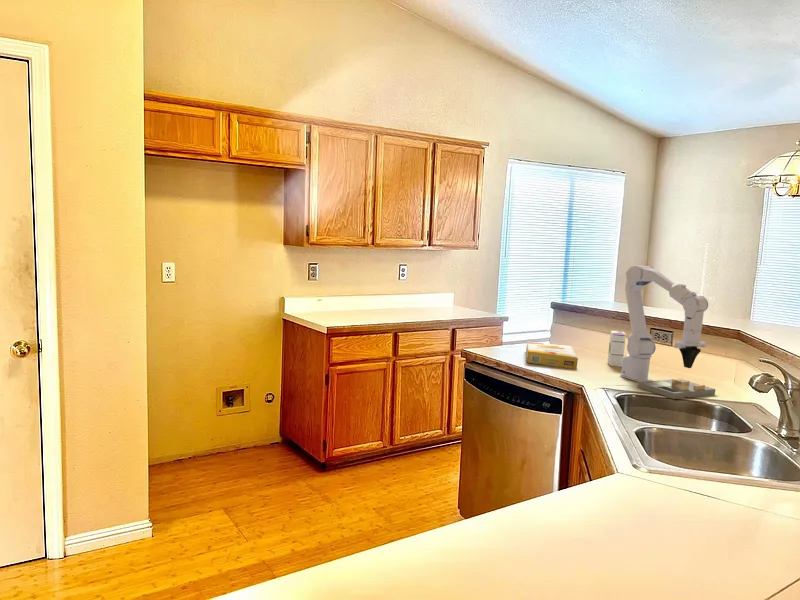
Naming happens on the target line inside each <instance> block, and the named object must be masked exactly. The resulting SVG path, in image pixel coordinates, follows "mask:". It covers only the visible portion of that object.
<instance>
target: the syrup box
mask: <svg viewBox="0 0 800 600" xmlns="http://www.w3.org/2000/svg"><path fill="white" fill-rule="evenodd" d="M626 334H627V333H625V332H624V331H622V330H610V333H609V343H608V352H607V353H608V354H607V364H608V365H609V366H610V367H618V368H622V363H623V359H624V357H625V348H626V339H627V337H626V336H627V335H626Z"/></svg>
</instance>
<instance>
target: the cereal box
mask: <svg viewBox="0 0 800 600" xmlns="http://www.w3.org/2000/svg"><path fill="white" fill-rule="evenodd" d="M525 350H526V351H525V355H526V362H527V363H529V364H536V365H540V366H541V365H542V366H548V367H549V366H550V367H555V368H556V367H557V368H563V367H564V368H566V369H572V368H573V369H575V370H576V369H577V368H578V359H579V357H578V356H577V354H576V353H575V351H574V350H575V349H573V347H572V346H571V345H570V346H569V345H560V344H554V343H543V342H542V343H541V342H535V341H534V342H532V341H527V342H526V349H525ZM564 368H563V369H564ZM573 369H572V370H573Z"/></svg>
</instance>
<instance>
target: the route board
mask: <svg viewBox="0 0 800 600" xmlns="http://www.w3.org/2000/svg"><path fill="white" fill-rule="evenodd" d="M672 379H673V378H672ZM672 379H671V378H669V379H660V380H653V381H645V382H637V383H638V384H637V388H638V389H641V388H642V389H641V390H644V389H645V390H644V391H647V390H648V391H647V392H650V391H651V392H650V393H653V392H654V393H653V394H656V393H658V394H657V395H660V394H661V396H663V395H664V396H663V397H666V398H670V399H672V400H678V399H686V398H685V397H688V398H695V397H696V396H697V397H703V396H704V397H705V395H706V396H713V395H714V394H715V395H716V388H713V387H709V386H706V385H705V384H698V383H694V382H692V381H690V382H689V390H679V389H675V388H672V387H671V385H672ZM687 381H689V380H688V379H687Z"/></svg>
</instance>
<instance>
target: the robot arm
mask: <svg viewBox="0 0 800 600" xmlns="http://www.w3.org/2000/svg"><path fill="white" fill-rule="evenodd" d="M625 276H626V280H625V289H624V290H625V297H626V302H627V310H628V317H629V324H630V330H631V333H630V334H629V335H628V337H627V345H626V351H627V354H626V355H624V359H623V363H622V367H621V374H619V377H621V378H625V379H628V380H631V381H634V382H637V383H638V382H647V381H654V380H653V379H652V378H649V372H650V364H651V363H650V362H651V358H652V355H654V353H655V352H656V349H657V348H656V344H655V341H654V340H653V336H652V334H651V333H650V332H648V330H647V329H648V328H647V322H646V318H645V316H646V315H645V309H644V303H643V298H642V290H643V289H644V288H645V287H647V286H648V285H650V284H651V283H652V282H653V283H654V284H656V285H658V286H659V287H661V288H662V289H665V291H668V293H669V297H670V298H671V299H673V300H674V301H676V302H677V303H678V304H679V305H681V306H682V308H683V310H684V323H683V332H682V339H681V340H679V341H675V342H674V348H675V349H678V350H679V351H680V354H681V357H682V358H681V359H682V362H683V367H684V368H687V369H692V368H693V365H694V362H695V360H696V359H697V356H698V355H699V354H700V353H701V351H702V349H701V348H706V346H707V342H706V341H703V340H702V341H701V336H702V329H703V323H704V322H703V320H704V312H706V311H707V310H708V308H709V301H708V300H707V298H706V297H705V296H703V295H697V293H696V292H695V291H691V290H690V289H689V288H687V285H686V284H684V283H683V284H681V283H674V282H673V281H671V280H670V279H669V278H668V277H666V275H664V274H663V273H661V272H660V270H659V269H657V268H655V267H654V266H651V265H637V264H634V265H631V266H630V267H629V268H628V269H627V270H626V272H625Z"/></svg>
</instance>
